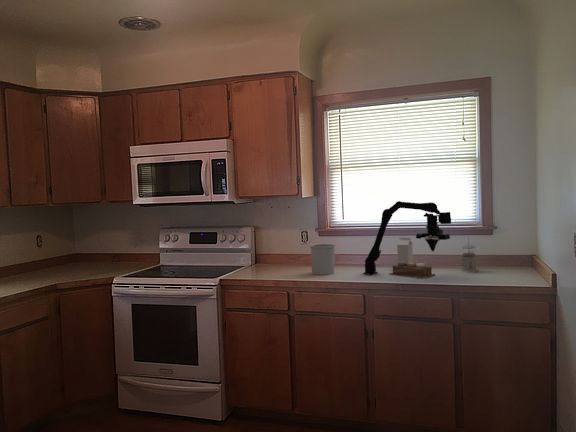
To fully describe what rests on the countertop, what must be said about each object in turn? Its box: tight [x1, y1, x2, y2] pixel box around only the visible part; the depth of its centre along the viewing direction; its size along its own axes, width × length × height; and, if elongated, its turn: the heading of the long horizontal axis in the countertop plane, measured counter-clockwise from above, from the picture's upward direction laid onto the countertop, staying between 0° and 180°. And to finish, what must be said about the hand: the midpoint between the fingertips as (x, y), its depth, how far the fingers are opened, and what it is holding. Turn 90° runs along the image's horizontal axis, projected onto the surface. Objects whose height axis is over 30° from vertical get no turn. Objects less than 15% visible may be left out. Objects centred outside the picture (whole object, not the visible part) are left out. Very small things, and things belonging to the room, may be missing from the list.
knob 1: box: [397, 261, 407, 266], centre depth 283 cm, size 5×5×5 cm
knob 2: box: [416, 262, 427, 268], centre depth 274 cm, size 5×5×5 cm
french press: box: [460, 227, 479, 273], centre depth 284 cm, size 10×12×25 cm
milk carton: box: [396, 237, 414, 263], centre depth 302 cm, size 7×7×19 cm
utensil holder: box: [310, 242, 335, 276], centre depth 296 cm, size 15×15×18 cm
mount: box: [388, 264, 436, 279], centre depth 279 cm, size 12×23×5 cm, turn 43°
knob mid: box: [407, 261, 417, 267], centre depth 279 cm, size 5×5×5 cm
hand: (432, 251), depth 279 cm, fingers closed
